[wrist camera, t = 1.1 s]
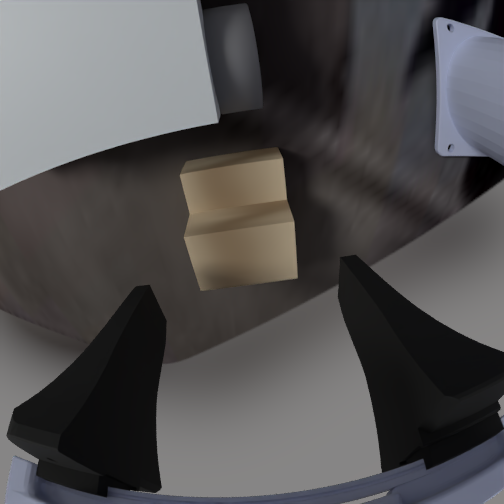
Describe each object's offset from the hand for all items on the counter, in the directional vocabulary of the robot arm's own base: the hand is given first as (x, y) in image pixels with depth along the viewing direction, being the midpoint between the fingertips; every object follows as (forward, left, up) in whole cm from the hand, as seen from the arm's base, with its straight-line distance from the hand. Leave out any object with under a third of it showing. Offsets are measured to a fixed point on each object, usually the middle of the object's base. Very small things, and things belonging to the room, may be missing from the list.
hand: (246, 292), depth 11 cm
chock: (0, -1, -6) cm, 6 cm away
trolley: (+5, -13, -6) cm, 15 cm away
